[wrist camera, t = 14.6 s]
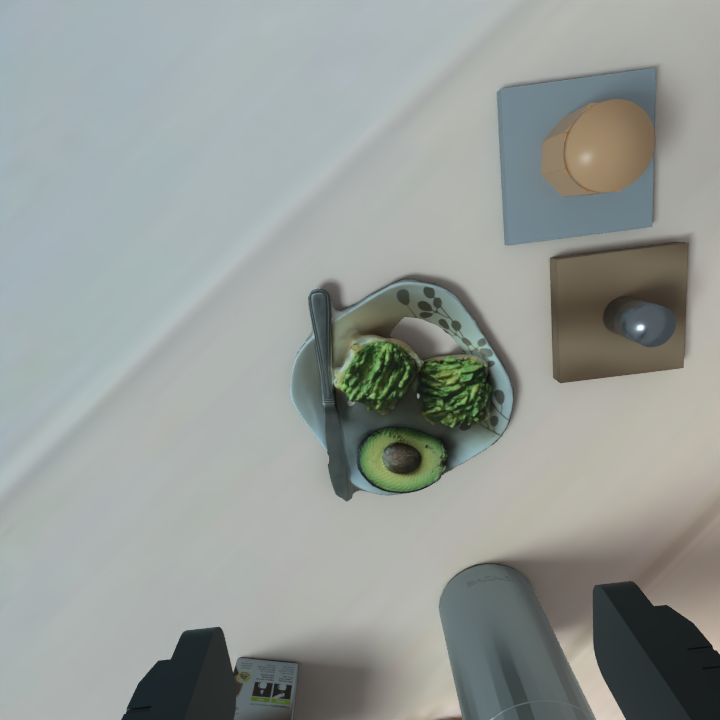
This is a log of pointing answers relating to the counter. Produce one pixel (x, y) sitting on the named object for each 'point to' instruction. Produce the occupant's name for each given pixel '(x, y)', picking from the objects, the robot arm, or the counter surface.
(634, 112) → the cap
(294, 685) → the coffee box
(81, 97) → the counter surface
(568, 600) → the counter surface
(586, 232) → the tile
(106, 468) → the counter surface
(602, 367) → the post stand
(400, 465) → the salad plate
